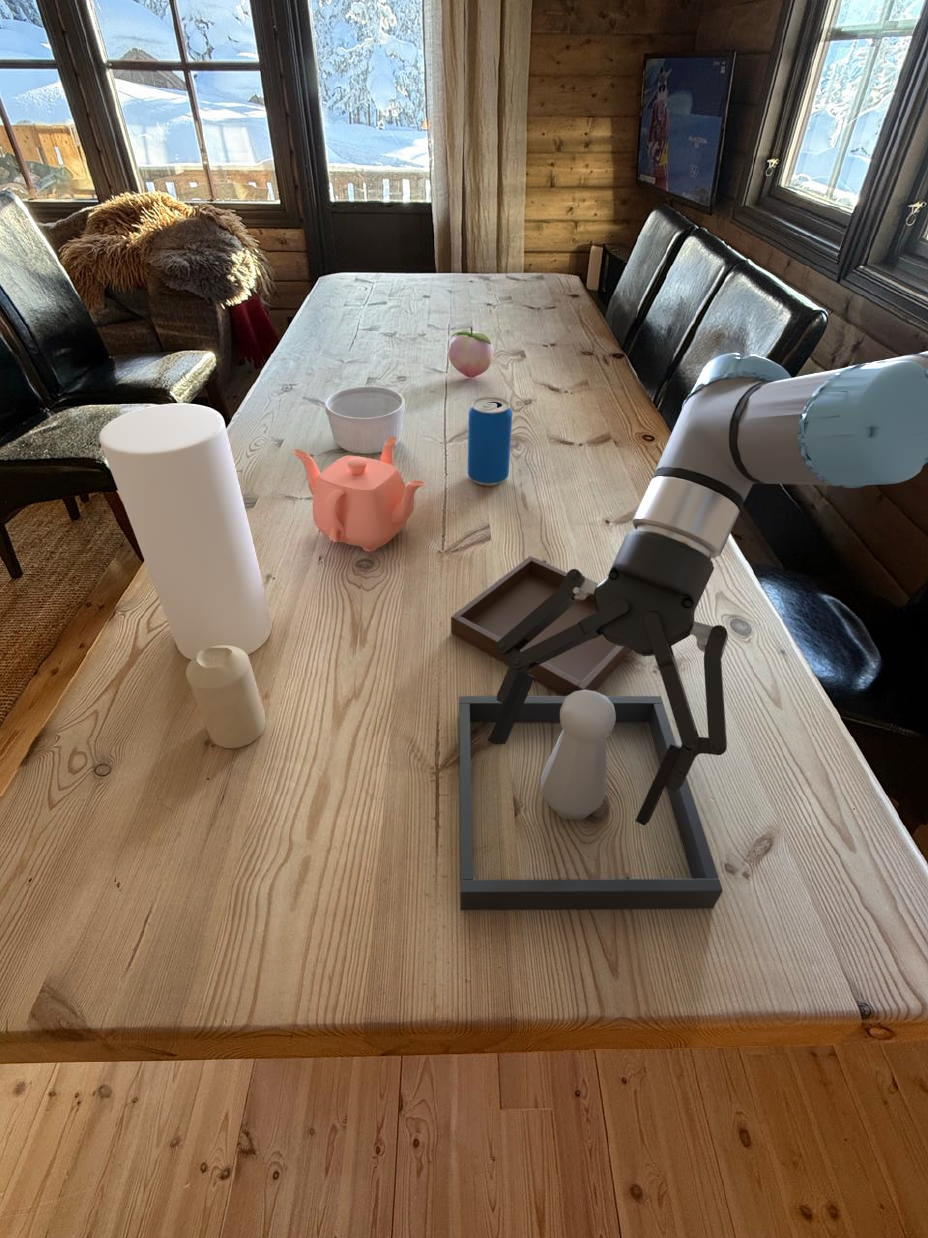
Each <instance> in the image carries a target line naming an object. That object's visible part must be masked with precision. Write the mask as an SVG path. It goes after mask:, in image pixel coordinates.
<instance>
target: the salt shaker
mask: <svg viewBox="0 0 928 1238" xmlns="http://www.w3.org/2000/svg"><path fill="white" fill-rule="evenodd" d="M606 696H607V695H604V694H603V693H601V692H599V691H590V690H580V691H574V692H573V693H571V694H570V695H568V696H566V698H565V700H564V702H563V704H562V707H561V709H560V722H561V723H560V727H561V729H562V730H561V732H560V735H559V736H558V738H557V741H556V743H555V745H554V747H553V750H552V752H551V754H550V756H549V759H548V760H547V762H546V765H545V767H544V768H543V772H542V774H541V776H540V789H541V795H542V796H543V798H544V800H545V802H546V804H547V806H548V807H550V809H552V811H553V812H555V813H556V815H558V817H560V818H561V819H562V820H584V819H586V818H587V817H588V816H590V815H591V814H592V813H594V812H595V811H597V810H598V809H599V808H600V807H601V806H602V805H603V803H604V800H605V799H606V795H607V794H608V774H607V773H608V772H607V771H608V769H607V746H606V745H607V743H606V738H607V737H609V736H610V735H611V733H612V731H613V729H614V726H615V725H616V723H615V721H616V713H615V709H614V705H613V704H612V703H611V701H610V700H609V699H608V698H607V697H606Z"/></svg>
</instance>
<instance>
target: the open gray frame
mask: <svg viewBox="0 0 928 1238" xmlns="http://www.w3.org/2000/svg"><path fill="white" fill-rule="evenodd" d="M605 696H606V697H607V698H608V699H609V700H610V701H611V703H612V704H613V705H614V709H615V713H616V721H615V724H647V726H648V730H649V733H650V737H651V741H652V743H653V747H654V751H655V754H656V757H657V758H656V759H657V761H658V765H659V767H660V766H661V763H662V761H663V759H664V757H665V755H666V753H667V750H668V748H669V746H670V744H675V745H677V742H676V739H675V736H674V733H673V730H672V727H671V723H670V721H669V717H668V715H667V711H666V708H665V705H664V701H663V699H662V696H661V695H605ZM565 698H566V696H561V695H527V697H526V699H525V702H524V704H523V706H522V708H521V711H520V713H519V715H518V717H517V719H516V722H515V724H561V722H560V709H561V707H562V704H563V702H564V700H565ZM503 705H504V704H503V703H501V702H499V701H497V695H459V696H458V755H459V756H458V762H459V764H458V765H459V767H458V768H459V769H458V770H459V771H458V772H459V773H458V775H459V777H458V778H459V780H458V781H459V782H458V783H459V911H557V910H558V911H567V910H568V911H577V910H578V911H581V910H582V911H587V910H590V911H595V910H596V911H599V910H600V911H603V910H606V911H607V910H614V911H615V910H618V911H619V910H621V911H622V910H714V909H715V906H716V904H717V903H718V901H719V899H720V897H721V895H722V894H723V892H724V889H723V887H722V884H721V881H720V877H719V874H718V871H717V868H716V864H715V862H714V859H713V856H712V852H711V849H710V846H709V843H708V839H707V836H706V833H705V831H704V827H703V823H702V820H701V818H700V814H699V811H698V808H697V805H696V802H695V799H694V796H693V793H692V790H691V786H690V783H689V780H688V776H687V777H686V779H685V781H684V783H683V785H682V786H681V787H680V788H679V789H678V790H677V791H674V790H672V789H670V788H668V787H666V786H665V789H666V793H667V796H668V799H669V803H670V807H671V809H672V814H673V818H674V820H675V824H676V827H677V830H678V831H677V832H678V835H679V838H680V841H681V845H682V848H683V852H684V856H685V858H686V862H687V866H688V869H689V872H690V876H691V878H603V879H602V878H593V879H592V878H589V879H588V878H585V879H584V878H583V879H582V878H581V879H579V878H578V879H577V878H575V879H571V878H568V879H563V878H562V879H561V878H560V879H559V878H557V879H554V878H553V879H552V878H551V879H546V878H545V879H474V844H473V843H474V841H473V840H474V839H473V837H474V836H473V797H472V796H473V795H472V794H473V793H472V791H473V790H472V757H471V756H472V755H471V753H472V751H471V748H472V747H471V724H495V722H496V720H497V718H498V716H499V714H500V711H501V709H502V707H503Z"/></svg>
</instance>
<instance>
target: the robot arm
mask: <svg viewBox="0 0 928 1238" xmlns="http://www.w3.org/2000/svg"><path fill="white" fill-rule="evenodd" d="M927 463H928V351H924V352H919V353H914V354H907V355H902V356H898V357H893V358H888V359H883V360H877V361H872V362H866V363H862V364H859V363H857V364H855V365H851V366H848V367H843V368H838V369H833V370H828V371H822V372H816V373H811V374H810V373H809V374H805V375H801V376H800V375H799V376H795V377H792V376H791V375H790V374H789V372H788V371H787V370H786V369H785V368H784V367H783V366H781V365H780V364H779V363H776V362H775V361H773V360H771V359H769V358H766V357H763V356H759V355H757V354H751V353H750V354H748V355H742V354H740V353H737V352H731V353H725V354H721V355H719V356H716V357H714V358H713V359H711V360H710V361H709V362H708V363H707V364H705V365H704V367H703V368H702V370H701V372H700V375H699V376H698V378H697V380H696V381H695V384H694V386H693V388H692V390H691V392H690V393H689V394H688V395H687V396H686V398H685V399H684V401H683V403H682V407H681V411H680V413H679V416H678V418H677V420H676V423H675V425H674V427H673V430H672V431H671V434H670V436H669V439H668V440H667V444H666V445H665V448H664V450H663V452H662V455H661V457H660V458H659V462H658V464H657V466H656V468H655V471H654V474H653V476H652V478H651V480H650V482H649V484H648V486H647V488H646V490H645V492H644V495H643V497H642V499H641V501H640V503H639V505H638V507H637V509H636V512H635V514H634V516H633V518H632V520H631V523H632V525H633V527H634V530H631V531H629V532H626V534H625V537H624V539H623V541H622V543H621V545H620V547H619V549H618V552H617V554H616V556H615V558H614V560H613V562H612V565H611V567H610V570H609V571H608V574H607V576H606V577H605V578H604V580H602V581H601V582H597V581H595V580H593V579H591V578H589V577H587V576H585V575H584V574H583V573H582V572H581V571H580V570H579V569H576V568H571V569H569V570H568V572H567V575H566V577H565V578H564V580H563V582H562V583H561V585H560V587H559V589H558V590H557V591H556V592H555V593H553V594H552V595H551V596H550V597H549V598H548V599H546V600H545V601H544V602H543V603H542V604H541V605H539V606H538V607H537V608H536V609H535V610H534V611H533V612H531V613H530V614H529V615H528V616H527V617H526V618H524V619H523V620H522V621H521V622H520V623H519V624H518V625H516V626H515V627H514V628H513V629H512V630H511V631H509V632H508V633H507V634H506V635H505V636H504V637H503V638H501V639H500V640H499V641H498V642H497V643H496V650H497V651H498V652H499V653H501V654H502V655H503V656H504V657H505V658H506V660H507V661H508V663H509V666H508V668H507V671H506V673H505V675H504V677H503V680H502V683H501V685H500V686H499V688H498V691H497V692H496V696H497V701H499V702H501V703H503V704H504V705H503V707H502V709H501V711H500V714H499V716H498V718H497V720H496V722H495V723H494V724H493V726H492V729H491V731H490V734H489V735H488V738H487V742H489V743H490V744H493V745H495V746H497V745H506V743H507V742H508V739H509V737H510V735H511V733H512V730H513V728H514V726H515V724H516V723H515V722H516V719H517V717H518V715H519V713H520V711H521V708H522V706H523V704H524V702H525V699H526V697H527V696H529V693H530V691H531V688H532V686H533V684H534V682H535V681H534V680H535V677H534V676H531V675H529V674H527V672H529V671H530V669H532V668H534V667H536V666H538V665H540V664H542V663H544V662H546V661H548V660H550V659H552V658H554V657H556V656H558V655H560V654H562V653H564V652H566V651H568V650H570V649H572V648H574V647H576V646H578V645H580V644H582V643H584V642H586V641H588V640H591V639H595V638H597V637H599V636H601V635H603V636H604V637H605V638H606V640H608V641H609V642H611V643H613V644H616V645H618V646H624V647H628V648H630V649H631V650H632V651H631V652H633V653H635V654H636V655H639V656H641V657H644V658H645V657H653V656H654V658H655V662H656V665H657V667H658V669H659V673H660V676H661V680H662V682H663V686H664V689H665V692H666V696H667V698H668V703H669V706H670V709H671V712H672V715H673V719H674V722H675V726H676V729H677V733H678V737H679V738H680V742H681V745H677V744H676V745H675V744H670V746H669V748H668V750H667V753H666V755H665V757H664V759H663V761H662V763H661V766H660V765H659V768H658V770H657V772H656V773H655V774H656V775H655V777H654V779H653V781H652V783H651V785H650V788H649V790H648V792H647V794H646V796H645V798H644V801H643V803H642V805H641V807H640V809H639V811H638V814H637V816H636V818H635V820H634V822H636V823H638V824H640V825H641V826H643V827H645V826H646V825H647V824H649V822H650V821H651V818H652V817H653V815H654V812H655V810H656V808H657V806H658V804H659V802H660V799H661V797H662V795H663V792H664V791H665V789H666V787H668V788H670V789H672V790H674V791H677V790H678V789H679V788H680V787H681V786H682V785H683V783H684V781H685V779H686V777H687V778H688V774H689V772H690V770H691V768H692V766H693V764H694V762H695V759H696V758H697V756H699V755H701V754H703V755H713V756H722V755H723V754H725V753H726V751H727V750H728V742H727V741H728V740H727V726H726V724H727V723H726V710H725V709H726V708H725V695H724V694H725V693H724V678H723V663H722V659H723V655H724V653H725V650H726V646H727V643H728V640H729V634H728V631H727V628H726V627H725V626H724V625H721V624H717V625H714V626H713V625H710V624H706V623H702V622H698V621H695V612H696V610H697V607H698V605H699V603H700V601H701V599H702V596H703V594H704V592H705V590H706V589H707V585H708V583H709V581H710V579H711V576H712V574H713V572H714V570H715V566H714V563H713V561H712V559H715V558H717V557H720V556H721V554H722V552H723V550H724V548H725V546H726V543H727V541H728V540H729V536H730V535H731V532H732V530H733V529H734V527H735V526H734V525H735V523H736V520H737V519H738V516H739V514H740V513H741V511H742V509H743V507H744V504H745V501H746V499H747V496H748V495H749V493H750V491H751V489H752V487H753V485H754V484H760V485H802V486H803V485H805V486H806V485H807V486H834V487H841V486H842V487H843V488H844V489H860V488H861V487H865V486H873V485H874V486H875V485H894V484H900V483H903V482H906V481H908V480H910V479H912V478H914V477H916V476H917V475H918V474H919V473H921V471H922V469H923V466H924V465H926V464H927ZM589 595H594V601H595V606H596V611H597V612H596V613H594V614H592V615H590V616H588V617H586V618H584V619H582V620H580V621H579V622H578V623H577V624H575V625H573V626H571V627H569V628H567V629H565V630H563V631H561V632H559V633H557V634H555V635H553V636H551V637H549V638H547V639H545V640H544V641H542V642H540V643H538V644H536V645H534V646H532V647H530V648H528V649H526V650H524V651H522V652H521V651H520V650H521V649H522V648H523V647H525V646H526V645H527V644H528V643H529V642H531V641H532V640H533V639H534V638H535V637H536V636H538V635H539V634H540V633H541V632H542V631H543V630H545V629H546V628H547V627H548V626H549V625H550V624H552V623H553V622H554V621H555V620H556V619H557V618H559V617H560V616H561V615H562V614H563V613H564V612H566V611H567V610H568V609H569V608H570V607H571V606H572V605H573V604H574V603H575V602H576V601H577V600H578V601H582V600H584V599H585V598H586V597H587V596H589ZM689 636H694V637H695V639H696V647H697V648H698V650H699V651H700V652H703V671H704V672H703V673H704V689H705V690H704V691H705V703H706V704H705V705H706V721H707V722H706V723H707V737H705V736H700V735H699V732H698V729H697V725H696V722H695V719H694V716H693V713H692V709H691V706H690V703H689V699H688V696H687V693H686V690H685V687H684V684H683V681H682V677H681V674H680V670H679V667H678V663H677V660H676V656H675V653H674V650H673V647H672V646H674V645H677V644H678V643H679V642H681V641H684V640H685V639H687V638H688V637H689Z"/></svg>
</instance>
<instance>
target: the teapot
mask: <svg viewBox="0 0 928 1238" xmlns="http://www.w3.org/2000/svg"><path fill="white" fill-rule="evenodd" d="M395 443H396V437H391V438H390V439H388V440H387V442H386V443H385V445H384V448H383V451H382V452H381V455H380V458H379V460H378V459H375V458H372V457H371V458H370V457H365V456H359V455H343V456H341V457H340V458H339V459H338V458H337V460H334V462H332V463H331V464H330V465H329V466H327V467H326V468H325V469H323V471H321V472H320V470H319V468H318V466H317V464H316V462H315V460H314V458H312V457H311V455H310V454H309V453H307V452H305V451H303V450H301V449H300V450H299V449H293V451H292V452H293V454H294V455H295V456H296V457H297V458H298V459H299V460H300V461H301V463H302V464H303V467H304V469H305V473H306V479H307V484H308V488H309V491H310V493H311V495H312V496H313V497H312V518H313V522H314V525H315V526H316V527H317V529H318V531H320V533H322V535H325V536H326V537H329V538H328V539H329V540H330V541H331V542H333V543H340V542H341V543H342V544H343V543H344V544H347V545H351V546H354V547H355V546H356V547H362V550H363V551H365V552H375V551H377V550H378V549H379V548H381V547H383V546H385V545H386V544H387V543H389V542H390V541H391V540H392V539H393V538H394V537H396V536H397V534H398V533H399V532H400V531H401V530H402V529H403V528H404V526H405V525H406V524H407V523H408V520H409V519H410V517H411V515H412V514H413V512H414V508H415V495H416V491H417V490H418V488H420V487H422V486H424V485H426V482H425V481H423V480H413V481H410V482H408V483H407V484H405V481H404V479H403V477H402V475H401V473H400V471H399V468H398V467H396V466H395V464H394V463H395V462H394V449H395V446H396V445H395ZM394 445H395V446H394Z"/></svg>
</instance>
